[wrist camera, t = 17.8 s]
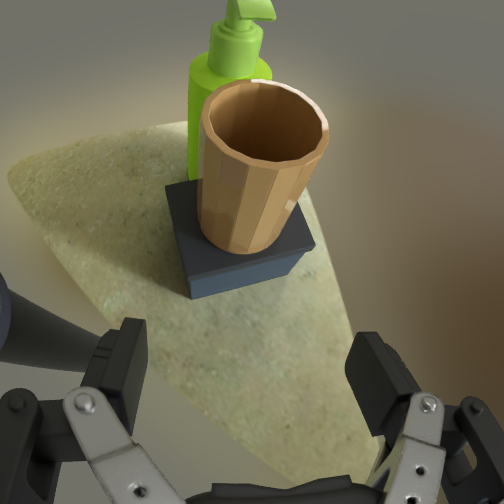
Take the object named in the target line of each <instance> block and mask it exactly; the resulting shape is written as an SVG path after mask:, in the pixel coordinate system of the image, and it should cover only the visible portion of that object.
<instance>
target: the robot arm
mask: <svg viewBox="0 0 504 504" xmlns="http://www.w3.org/2000/svg"><path fill="white" fill-rule="evenodd" d="M147 363H148V346H147V330H146V321H145V320H144V319H136V318H128V317H125V318H124V321H123V323H122V325H121V328H120V330H114V329H110V330H109V331H108V332H107V333H105V334H104V335H103V336H102V337H101V339H100V341H99V343H98V345H97V349H96V350H95V352H94V354H93V357H92V359H91V361H90V363H89V366H88V368H87V370H86V373H85V375H84V377H83V380H82V382H81V385H80V387H78V388H75V389H73V390H71V391H70V392H68V393H67V394H66V396H65V397H64V399H61V400H45V401H38V400H37V398H36V396H35V395H34V394H33V393H32V392H31V391H29V390H27V389H23V388H16V389H12V390H10V391H8V392H6V393H5V394H4V395H3V396H2V397H1V399H0V504H53V502H54V497H55V492H56V486H57V481H58V477H59V472H60V467H61V463H62V462H68V461H69V462H72V461H87V462H88V463H89V465H90V467H91V469H92V471H93V473H94V474H95V476H96V478H97V480H98V481H99V483H100V485H101V487H102V488H103V490H104V491H105V493H106V495H107V496H108V498H109V500H110V501H111V503H112V504H436V500H437V496H438V491H439V487H440V483H441V485H442V487H443V490H444V492H445V495H446V497H447V500H448V502H449V504H504V432H503V430H502V428H501V427H500V425H499V424H498V422H497V420H496V419H495V417H494V416H493V414H492V413H491V411H490V410H489V408H488V407H487V405H486V404H485V403H484V402H483V401H482V400H480V399H478V398H476V397H472V396H469V397H465V398H464V399H463V400H462V402H461V403H460V405H459V406H449V405H444V404H443V402H442V401H441V400H440V398H439V397H437V396H436V395H434V394H432V393H429V392H425V391H422V390H421V389H420V387H419V386H418V384H417V382H416V381H415V379H414V378H413V376H412V375H411V373H410V372H409V370H408V369H407V368H406V365H405V364H404V362H402V359H401V358H400V356H399V355H398V353H397V352H396V351H395V350H394V349H393V348H392V347H391V346H389V345H388V344H385V343H384V342H383V340H382V339H381V337H380V336H379V334H378V333H377V332H358V333H357V334H356V336H355V338H354V341H353V343H352V346H351V349H350V351H349V354H348V357H347V359H346V362H345V375H346V377H347V380H348V382H349V384H350V386H351V389H352V391H353V393H354V395H355V398H356V400H357V402H358V405H359V407H360V409H361V411H362V414H363V416H364V418H365V421H366V423H367V425H368V428H369V430H370V432H371V435H372V437H374V436H379V435H384V437H385V440H384V441H383V442H382V445H381V447H380V450H379V452H378V455H377V458H376V460H375V463H374V465H373V468H372V470H371V472H370V475H369V477H368V479H367V481H366V483H365V484H364V485H363V484H358V483H352V481H351V478H350V475H342V476H336V477H329V478H321V479H317V480H314V481H311V482H308V483H305V484H302V485H299V486H296V487H293V488H290V489H276V488H271V487H264V486H259V485H253V484H227V483H212V489H211V492H205V493H201V494H198V495H195V496H192V497H190V498H187V499H185V500H183V499H182V497H181V496H180V495H179V494H178V493H177V492H176V490H175V489H174V488H173V487H172V485H171V484H170V483H169V482H168V480H167V479H166V478H165V477H164V475H163V474H162V473H161V471H160V470H159V469H158V467H157V466H156V465H155V464H154V462H153V461H152V459H151V458H150V457H149V455H148V454H147V453H146V451H145V450H144V449H143V448H142V446H141V445H139V444H138V443H137V444H135V443H134V442H133V440H132V439H131V437H130V436H132V433H133V428H134V423H135V418H136V414H137V409H138V404H139V399H140V395H141V391H142V386H143V382H144V377H145V373H146V368H147ZM468 442H469V444H470V446H471V448H472V450H473V452H474V454H475V456H476V458H477V466H476V468H475V470H474V471H473V469H472V467H471V465H470V463H469V461H468V459H467V457H466V455H465V453H464V451H463V448H464V447H465V446H466V445H467V443H468Z"/></svg>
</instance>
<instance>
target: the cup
mask: <svg viewBox="0 0 504 504" xmlns="http://www.w3.org/2000/svg"><path fill="white" fill-rule="evenodd" d="M329 135H330V134H329V125H328V121H327V119H326V118H325V116H324V114H323V113H322V111H321V109H320V108H319V106H318V105H317V104H316V103H315V102H313V101H312V100H311V99H310V98H309V97H307V96H306V95H305V94H304V93H302V92H301V91H299V90H296V89H294V88H292V87H290V86H288V85H285V84H283V83H280V82H275V81H270V80H264V79H244V80H236V81H233V82H230V83H228V84H225V85H223V86H220V87H218V88H217V89H216V90H215V91H214V92H213V93H211V94H210V95H209V96H208V97H207V98H206V99H205V101H204V104H203V107H202V111H201V115H200V127H199V150H198V182H197V214H198V222H199V225H200V228H201V230H202V232H203V234H204V235H205V236H206V238H207V239H208V240H209V241H210V242H211V243H212V244H214V245H215V246H216V247H218V248H220V249H222V250H224V251H227V252H230V253H234V254H252V253H256V252H259V251H261V250H264V249H265V248H267V247H269V246H270V245H271V244H272V243H273V242H274V241H275V240H276V239H277V237H278V236H279V234H280V232H281V230H282V229H283V227H284V225H285V223H286V221H287V219H288V218H289V216H290V214H291V212H292V210H293V208H294V207H295V205H296V203H297V201H298V199H299V197H300V195H301V194H302V192H303V190H304V188H305V186H306V184H307V182H308V181H309V178H310V177H311V175H312V173H313V171H314V169H315V168H316V166H317V164H318V162H319V160H320V158H321V156H322V155H323V152H324V151H325V149H326V147H327V145H328V143H329V141H330V136H329Z"/></svg>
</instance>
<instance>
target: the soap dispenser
mask: <svg viewBox="0 0 504 504" xmlns="http://www.w3.org/2000/svg"><path fill="white" fill-rule="evenodd" d="M275 19H276V14H275V11H274V8H273V6H272V3H271V1H270V0H228V4H227V11H226V17H225V19H223V20H219V21H217V22H215V23H214V24H213V25H212V27H211V31H210V40H209V51H208V52H205V53H203V54H201V55H199V56H198V57H196V58H195V59H194V60H193V61H192V62H191V64H190V67H189V86H188V177H189V181H190V180H195V179H198V150H199V127H200V115H201V111H202V107H203V104H204V101H205V99H206V98H207V97H208V96H209V95H210V94H211V93H213V92H214V91H215V90H216V89H217V88H218V87H220V86H223V85H225V84H228V83H230V82H233V81H236V80H244V79H264V80H270V81H271V80H272V72H271V69H270V67H269V66H268V65H267V64H266V62H265V61H263V60H262V59H261V58H259V57H258V56H259V52H260V47H261V43H262V38H263V30H262V28H261V27H260V26H258V25H257V24H255V23H254V22H252V21H253V20H258V21H274V20H275Z"/></svg>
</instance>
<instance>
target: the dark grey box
mask: <svg viewBox="0 0 504 504" xmlns="http://www.w3.org/2000/svg"><path fill="white" fill-rule="evenodd" d="M197 182H198V179H195V180H190V181H185V182H180V183H176V184H171V185H166V186H165V191H166V197H167V201H168V205H169V210H170V214H171V219H172V223H173V230H174V234H175V238H176V242H177V247H178V251H179V255H180V259H181V262H182V266H183V270H184V274H185V278H186V282H187V285H188V289H189V293H190V296H191V300H194V299H197V298H201V297H205V296H209V295H213V294H217V293H221V292H224V291H228V290H232V289H236V288H239V287H243V286H247V285H251V284H254V283H258V282H262V281H265V280H269V279H273V278H276V277H280V276H284V275H287V274H288V273H289V272H290V271H291V269H292V268H293V267H294V266H295V264H296V263H297V262H298V261H299V260H300V258H301V257H302V256H303V255H304V253H305V252H308V251H311V250H312V249H313V248H314V247H315V246H316V245H315V242H314V240H313V237H312V235H311V232H310V230H309V227H308V225H307V223H306V220H305V218H304V215H303V213H302V211H301V208H300V206H299V204H298V201H297V203H296V205H295V207H294V208H293V210H292V212H291V214H290V216H289V218H288V219H287V221H286V223H285V225H284V227H283V229H282V230H281V232H280V234H279V236H278V237H277V239H276V240H275V241H274V242H273V243H272V244H271V245H270V246H269V247H267V248H265V249H264V250H261V251H259V252H256V253H252V254H234V253H230V252H227V251H224V250H222V249H220V248H218V247H216V246H215V245H214V244H212V243H211V242H210V241H209V240H208V239H207V238H206V236H205V235H204V234H203V232H202V230H201V228H200V225H199V222H198V214H197Z"/></svg>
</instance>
